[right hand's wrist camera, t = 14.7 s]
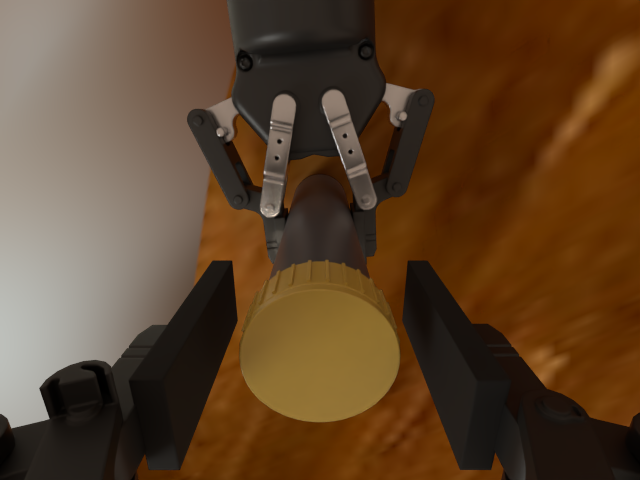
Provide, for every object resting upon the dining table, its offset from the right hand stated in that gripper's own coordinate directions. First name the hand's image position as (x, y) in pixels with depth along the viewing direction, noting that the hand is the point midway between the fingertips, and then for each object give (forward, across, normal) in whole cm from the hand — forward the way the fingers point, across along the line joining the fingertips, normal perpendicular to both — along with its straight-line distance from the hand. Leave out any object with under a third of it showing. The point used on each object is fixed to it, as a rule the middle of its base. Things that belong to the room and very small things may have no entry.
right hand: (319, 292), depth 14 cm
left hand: (+9, 0, -3) cm, 9 cm away
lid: (-4, 0, 0) cm, 4 cm away
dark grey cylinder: (+15, 0, 0) cm, 15 cm away
